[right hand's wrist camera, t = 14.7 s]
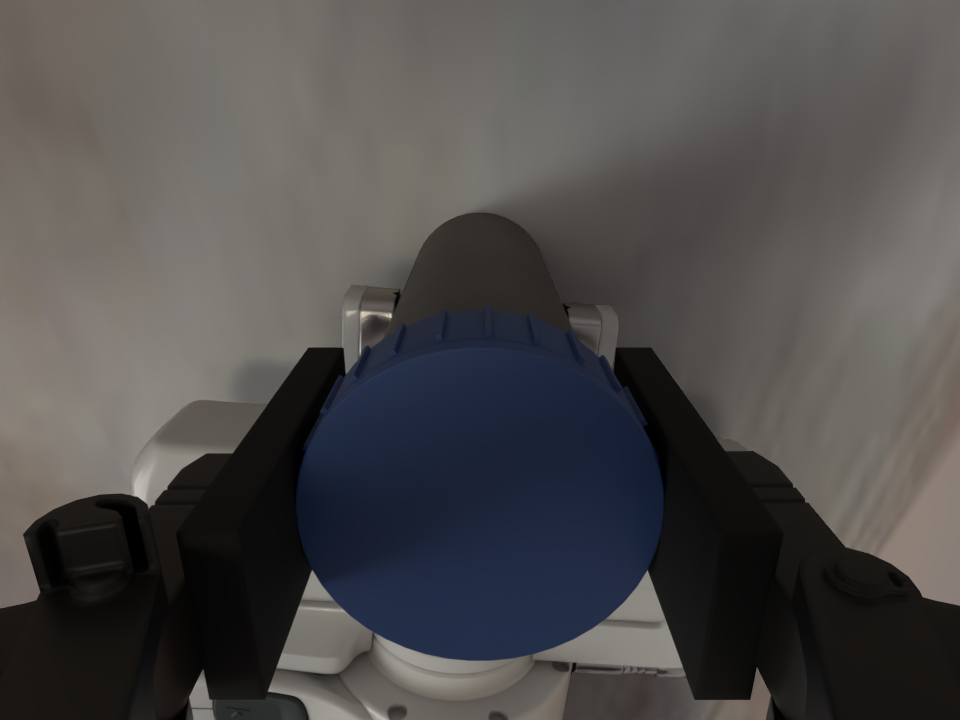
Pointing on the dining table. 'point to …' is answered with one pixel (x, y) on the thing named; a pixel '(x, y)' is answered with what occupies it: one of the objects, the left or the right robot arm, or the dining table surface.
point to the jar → (479, 274)
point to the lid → (479, 488)
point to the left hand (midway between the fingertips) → (480, 299)
